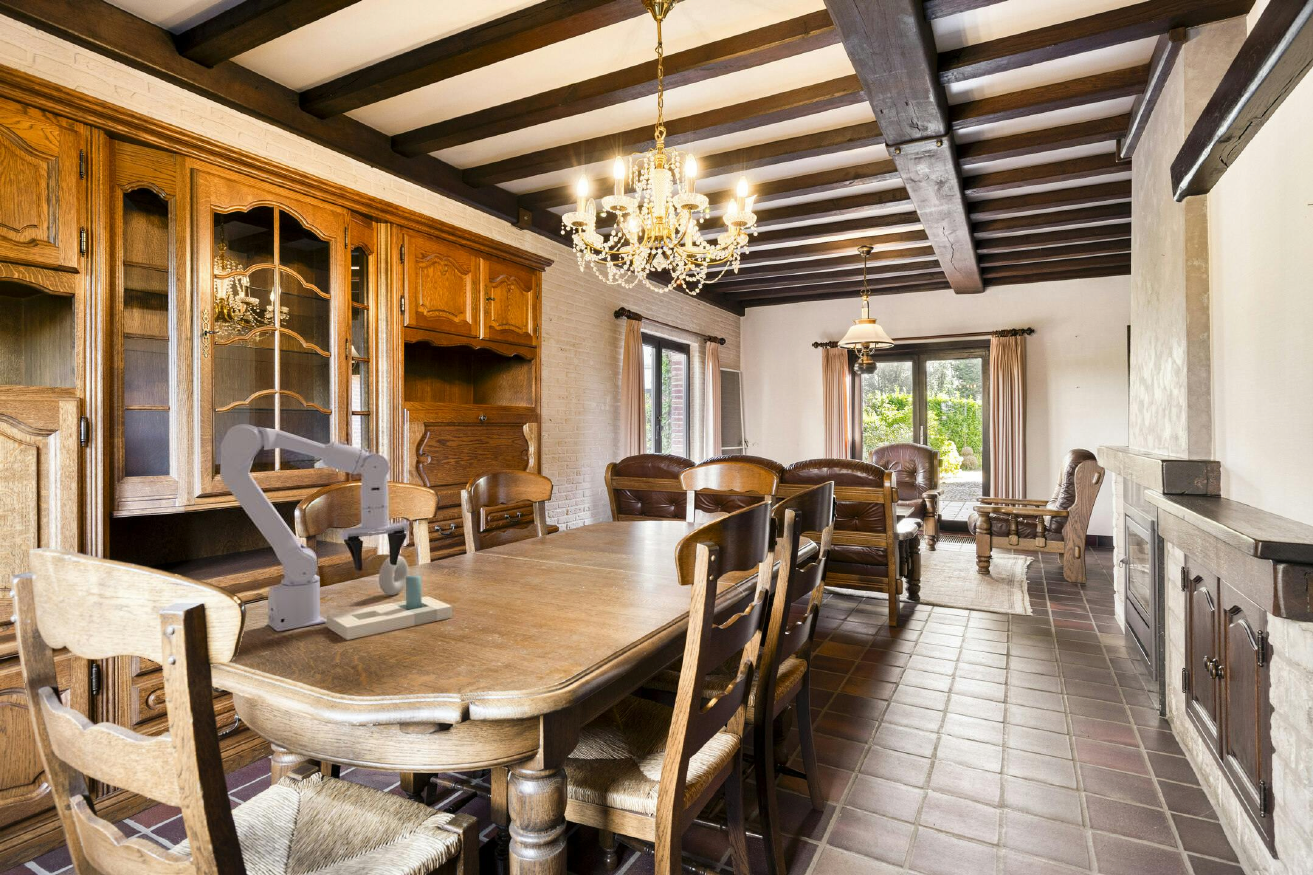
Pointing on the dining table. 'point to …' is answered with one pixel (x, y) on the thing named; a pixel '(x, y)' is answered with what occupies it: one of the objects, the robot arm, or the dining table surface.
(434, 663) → the dining table surface
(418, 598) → the peg
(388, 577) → the donut
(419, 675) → the dining table surface
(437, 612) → the peg board
